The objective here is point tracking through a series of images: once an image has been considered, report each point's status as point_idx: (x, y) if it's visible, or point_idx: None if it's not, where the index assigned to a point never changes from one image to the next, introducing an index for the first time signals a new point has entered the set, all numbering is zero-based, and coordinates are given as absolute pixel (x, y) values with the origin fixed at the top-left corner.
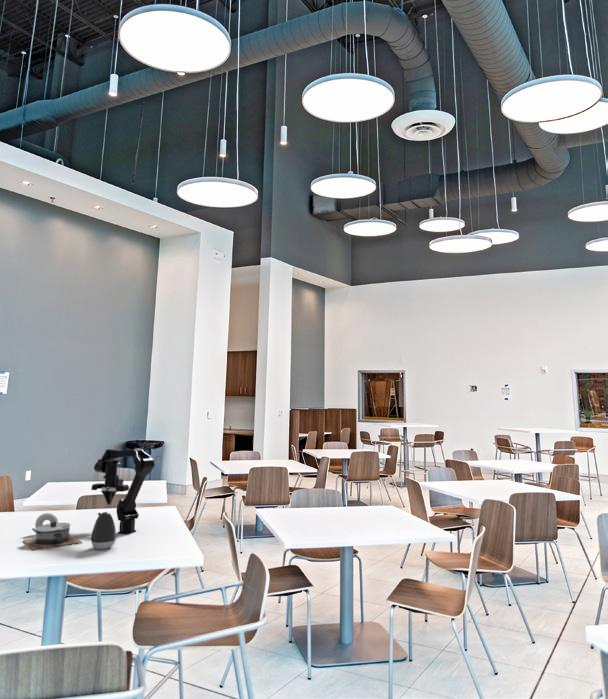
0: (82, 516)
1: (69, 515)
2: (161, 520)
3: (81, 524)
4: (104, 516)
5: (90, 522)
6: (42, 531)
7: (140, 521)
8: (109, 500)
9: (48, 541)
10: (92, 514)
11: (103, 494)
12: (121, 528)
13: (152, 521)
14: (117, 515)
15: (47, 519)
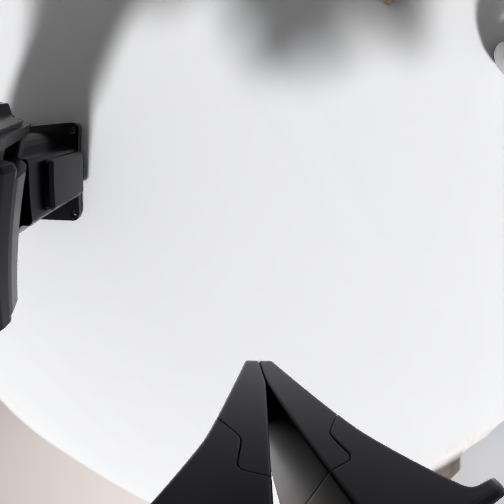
0: (458, 410)
1: (491, 399)
2: (100, 442)
3: (446, 306)
4: None
5: (416, 355)
6: None
7: (171, 428)
8: (230, 395)
9: None
10: (430, 439)
11: (410, 463)
12: (50, 144)
13: (118, 430)
14: (11, 124)
15: None
